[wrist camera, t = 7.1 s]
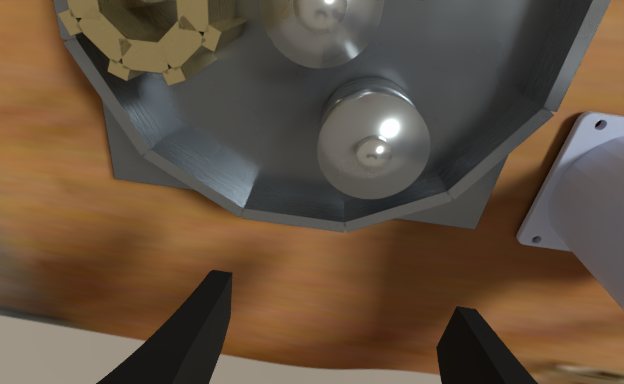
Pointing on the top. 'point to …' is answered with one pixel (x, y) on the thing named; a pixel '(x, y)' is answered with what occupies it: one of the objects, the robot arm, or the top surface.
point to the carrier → (348, 106)
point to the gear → (155, 34)
